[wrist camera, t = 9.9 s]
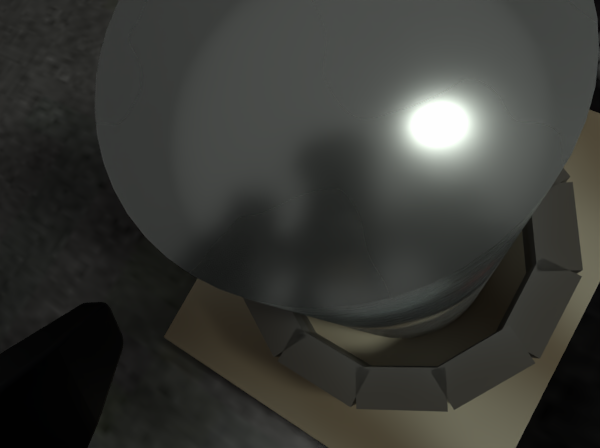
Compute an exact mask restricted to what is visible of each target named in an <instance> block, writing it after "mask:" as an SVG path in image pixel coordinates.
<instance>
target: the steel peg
mask: <svg viewBox="0 0 600 448" xmlns="http://www.w3.org/2000/svg"><path fill="white" fill-rule="evenodd" d="M598 56H599V41H598V23H597V14H596V9H595V5H594V0H119V2H118V4H117V6H116V9H115V11H114V13H113V16H112V18H111V21H110V23H109V26H108V28H107V32H106V35H105V39H104V42H103V46H102V49H101V53H100V57H99V64H98V70H97V76H96V84H95V118H96V129H97V138H98V142H99V146H100V151H101V155H102V159H103V163H104V166H105V169H106V171H107V174H108V176H109V179H110V182H111V184H112V187H113V189H114V191H115V193H116V195H117V196H118V198H119V200H120V202H121V203H122V205H123V207H124V209H125V211H126V212H127V214H128V215H129V217H130V218H131V219H132V221H133V222H134V223H135V224H136V226H137V227H138V228H139V230H140V231H141V232H142V233H143V235H144V236H145V237H146V238H147V239H148V240H149V241H150V242H151V243H152V244H153V245H154V246H155V247H156V248H157V249H158V250H159V251H160V252H161V253H162V254H164V255H165V256H166V257H167V258H168V259H170V260H171V261H172V262H174V263H175V264H177V265H178V266H179V267H181V268H182V269H184V270H185V271H186V272H188V273H189V274H191V275H192V276H194V277H196V278H198V279H200V280H202V281H204V282H206V283H208V284H210V285H212V286H214V287H216V288H218V289H220V290H223V291H226V292H229V293H232V294H234V295H237V296H240V297H243V298H246V299H249V300H252V301H256V302H259V303H263V304H267V305H270V306H274V307H277V308H281V309H284V310H288V311H292V312H295V313H299V314H302V315H306V316H310V317H313V318H317V319H320V320H324V321H327V322H331V323H335V324H338V325H342V326H345V327H349V328H352V329H356V330H360V331H363V332H367V333H370V334H374V335H378V336H383V337H388V338H400V339H402V338H414V337H419V336H424V335H427V334H430V333H433V332H436V331H438V330H440V329H442V328H444V327H446V326H448V325H449V324H451V323H452V322H453V321H455V320H456V319H458V318H459V317H460V316H461V315H462V314H463V313H464V312H465V311H466V310H467V309H468V308H469V307H470V305H471V304H472V303H473V302H474V300H475V299H476V297H477V296H478V294H479V293H480V291H481V290H482V289H483V287H484V286H485V284H486V283H487V281H488V280H489V278H490V277H491V275H492V274H493V272H494V271H495V269H496V268H497V266H498V265H499V263H500V262H501V261H502V259H503V258H504V256H505V255H506V253H507V252H508V250H509V249H510V247H511V246H512V244H513V243H514V241H515V240H516V238H517V237H518V235H519V234H520V233H521V231H522V230H523V228H524V227H525V225H526V224H527V222H528V221H529V219H530V218H531V216H532V215H533V213H534V212H535V210H536V209H537V207H538V206H539V205H540V203H541V202H542V200H543V199H544V197H545V196H546V194H547V193H548V191H549V190H550V188H551V187H552V185H553V184H554V182H555V180H556V179H557V177H558V175H559V174H560V172H561V171H562V169H563V167H564V166H565V164H566V163H567V161H568V159H569V158H570V156H571V154H572V152H573V150H574V147H575V145H576V143H577V141H578V138H579V136H580V134H581V131H582V129H583V127H584V124H585V122H586V119H587V115H588V112H589V108H590V104H591V100H592V97H593V93H594V89H595V85H596V75H597V66H598Z"/></svg>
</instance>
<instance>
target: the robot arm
mask: <svg viewBox="0 0 600 448" xmlns="http://www.w3.org/2000/svg"><path fill="white" fill-rule="evenodd" d="M122 348H123V337H122V334H121V331H120V329H119V327H118V325H117V322H116V320H115V318H114V315H113V313H112V311H111V309H110V307H109V306H108V305H107V304H106V303H103V302H91V303H83V304H81V305H79V306H78V307H76V308H75V309H73V310H71V311H70V312H68V313H66V314H65V315H63V316H61V317H60V318H58V319H57V320H55V321H53V322H52V323H50V324H48V325H47V326H45V327H43V328H42V329H40V330H39V331H37V332H35V333H34V334H32V335H30V336H29V337H27V338H25V339H24V340H22V341H21V342H19V343H17V344H16V345H14V346H12V347H11V348H9V349H7V350H6V351H4V352H2V353H1V354H0V448H87V447H88V445H89V443H90V441H91V438H92V436H93V434H94V431H95V429H96V426H97V424H98V421H99V418H100V415H101V413H102V410H103V407H104V404H105V401H106V398H107V395H108V391H109V388H110V385H111V382H112V379H113V376H114V373H115V370H116V367H117V364H118V361H119V358H120V355H121V352H122Z"/></svg>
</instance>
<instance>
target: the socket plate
mask: <svg viewBox="0 0 600 448" xmlns="http://www.w3.org/2000/svg"><path fill="white" fill-rule="evenodd" d="M599 282H600V114H599V113H597V112H594V111H591V110H589V112H588V115H587V119H586V122H585V124H584V127H583V129H582V131H581V134H580V136H579V138H578V141H577V143H576V145H575V147H574V150H573V152H572V154H571V156H570V158H569V159H568V161H567V163H566V164H565V166H564V167H563V169H562V171H561V172H560V174H559V175H558V177H557V179H556V180H555V182H554V184H553V185H552V187H551V188H550V190H549V191H548V193H547V194H546V196H545V197H544V199H543V200H542V202H541V203H540V205H539V206H538V207H537V209H536V210H535V212H534V213H533V215H532V216H531V218H530V219H529V221H528V222H527V224H526V225H525V227H524V228H523V230H522V231H521V233H520V234H519V235H518V237H517V238H516V240H515V241H514V243H513V244H512V246H511V247H510V249H509V250H508V252H507V253H506V255H505V256H504V258H503V259H502V261H501V262H500V263H499V265H498V266H497V268H496V269H495V271H494V272H493V274H492V275H491V277H490V278H489V280H488V281H487V283H486V284H485V286H484V287H483V289H482V290H481V291H480V293H479V294H478V296H477V297H476V299H475V300H474V302H473V303H472V304H471V305H470V307H469V308H468V309H467V310H466V311H465V312H464V313H463V314H462V315H461V316H460V317H459V318H458V319H456V320H455V321H453V322H452V323H451V324H449V325H448V326H446V327H444V328H442V329H440V330H438V331H436V332H433V333H430V334H427V335H424V336H419V337H414V338H402V339H400V338H388V337H383V336H378V335H374V334H370V333H367V332H363V331H360V330H356V329H352V328H349V327H345V326H342V325H338V324H335V323H331V322H327V321H324V320H320V319H317V318H313V317H310V316H306V315H302V314H299V313H295V312H292V311H288V310H284V309H281V308H277V307H274V306H270V305H267V304H263V303H259V302H256V301H252V300H249V299H246V298H243V297H240V296H237V295H234V294H232V293H229V292H226V291H223V290H220V289H218V288H216V287H214V286H212V285H210V284H208V283H206V282H204V281H202V280H200V279H198V278H197V280H196V282H195V284H194V285H193V287H192V289H191V290H190V292H189V294H188V296H187V297H186V299H185V301H184V303H183V304H182V306H181V308H180V310H179V311H178V313H177V315H176V317H175V318H174V320H173V322H172V324H171V325H170V327H169V329H168V330H167V332H166V334H165V336H164V338H166V339H167V340H169V341H170V342H172V343H173V344H175V345H176V346H178V347H179V348H181V349H182V350H184V351H185V352H187V353H188V354H189V355H191V356H192V357H194V358H195V359H197V360H198V361H200V362H201V363H203V364H204V365H206V366H207V367H209V368H210V369H212V370H213V371H215V372H216V373H218V374H219V375H221V376H222V377H224V378H225V379H227V380H228V381H230V382H231V383H233V384H234V385H236V386H237V387H239V388H240V389H242V390H243V391H245V392H246V393H248V394H249V395H251V396H252V397H254V398H255V399H257V400H258V401H260V402H261V403H263V404H264V405H266V406H267V407H269V408H270V409H272V410H273V411H275V412H276V413H278V414H279V415H280V416H282V417H283V418H285V419H286V420H288V421H289V422H291V423H292V424H294V425H295V426H297V427H298V428H300V429H301V430H303V431H304V432H306V433H307V434H309V435H310V436H312V437H313V438H315V439H316V440H318V441H319V442H321V443H322V444H324V445H325V446H327V447H328V448H516V446H517V444H518V442H519V440H520V438H521V436H522V434H523V432H524V430H525V428H526V426H527V424H528V422H529V420H530V418H531V416H532V414H533V412H534V410H535V408H536V406H537V404H538V402H539V400H540V398H541V396H542V394H543V392H544V390H545V388H546V386H547V384H548V383H549V381H550V379H551V377H552V375H553V373H554V371H555V369H556V367H557V365H558V363H559V361H560V359H561V357H562V355H563V353H564V351H565V349H566V347H567V345H568V343H569V341H570V339H571V337H572V335H573V333H574V331H575V329H576V327H577V325H578V323H579V321H580V319H581V317H582V315H583V313H584V311H585V309H586V307H587V305H588V304H589V302H590V300H591V298H592V296H593V294H594V292H595V290H596V288H597V286H598V284H599Z"/></svg>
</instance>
